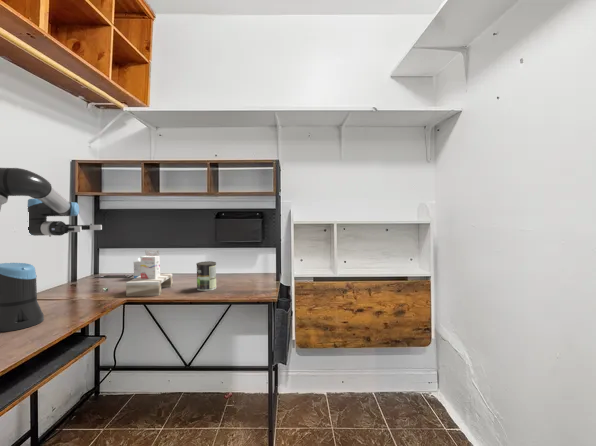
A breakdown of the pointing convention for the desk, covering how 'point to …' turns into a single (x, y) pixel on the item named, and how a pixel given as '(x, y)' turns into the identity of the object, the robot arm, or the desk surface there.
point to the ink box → (137, 268)
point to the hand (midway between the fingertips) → (91, 228)
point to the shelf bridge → (148, 285)
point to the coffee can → (206, 276)
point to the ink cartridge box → (150, 265)
